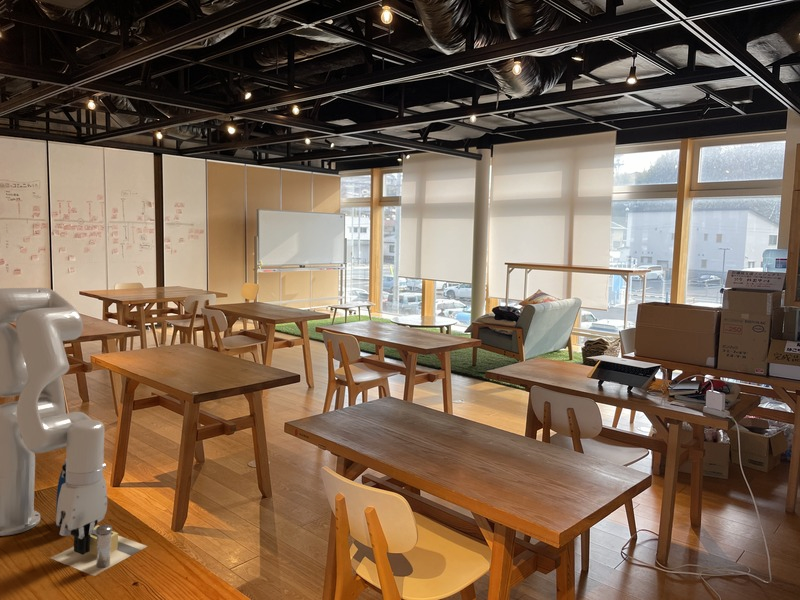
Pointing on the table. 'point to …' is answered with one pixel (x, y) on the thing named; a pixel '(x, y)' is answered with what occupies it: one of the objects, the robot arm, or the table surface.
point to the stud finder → (94, 541)
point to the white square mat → (89, 560)
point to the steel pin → (103, 546)
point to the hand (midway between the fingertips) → (81, 551)
